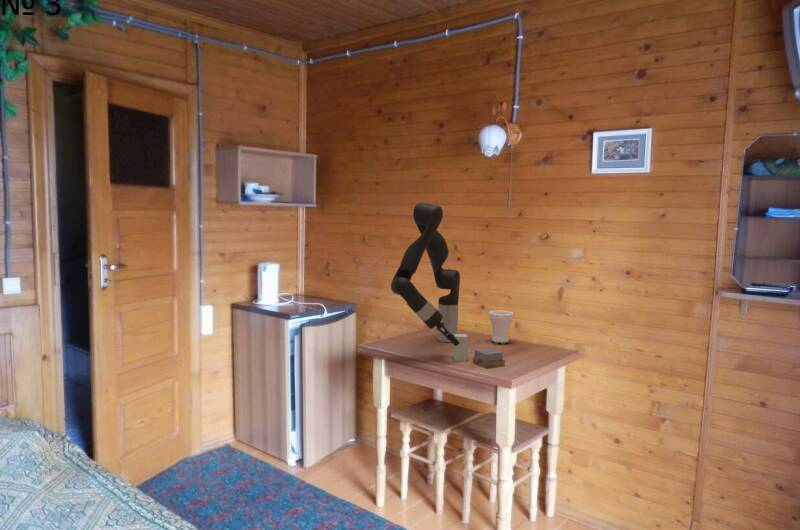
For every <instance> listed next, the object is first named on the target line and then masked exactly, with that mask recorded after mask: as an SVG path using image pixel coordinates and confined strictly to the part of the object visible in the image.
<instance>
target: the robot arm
mask: <svg viewBox="0 0 800 530" xmlns="http://www.w3.org/2000/svg"><path fill="white" fill-rule="evenodd" d="M443 215H444V211H443V208H442V207H441V206H439V205H437V204H433V203H428V202H422V201H421V202H417V204H415V205H414V208H413V221H414V223H415V225H416V227H417V230H418V231H419V233H420V236H419V237H418V238H417V239H415V240H414V241H413V242H411V244H410V245H409V246H408V247H407V249H406V250H405V252H404V254H403V256H402V259H401V262H400V264H399V267H398V269H397V270H396V273H395V274H394V276H393V278H392V280H391V283H390V288H391V291H392V292H393V294H395V295H398V296H400V297H401V298H402V299H403V300H404V301H405V302H406V305H407V306H408V307H409V308H410V309H411V310H412V312H413V313H414V314H415V315H417V317H418V318H419V319H420V321H422V322H423V324H425V325H426V326H427V328H428V329H431V330H432V329H434V328H435V327H436V328H435V329H436V339H437V341H439V342H443V343H452V345H453V344H454V345H455V346H457V345H458V344H459V341H458V340H457V339H456V338H455V337H454V334H458V332H459V331H458V328H459V322H458V321H459V299H460V283H461V275H460V271H459V270H456V269H445V268H443V265H444V264H445V262H446V260H447V259H448V257H449V247H448V244H447V241H446V239H445V237H444V236H443V235H442V234H441V232H439V231H438V228H439V226H440V224H441V222H442V220H443V217H444V216H443ZM425 251H426V253H427V255H428V258H429V262H430V264H431V268H432V271H433V277H434V282H435V285H436V287H437V288H438V289H441V290H450V292H449V293H448V294H446V295H442V296H440V297H438V299H437V301H438V304H437V305H438V307H437V308H438V309H437V308H436V307H435V306H434V304H432V303H431V302H429V301H428V299H427V298H426V297H424V295H423V294H422V293H420V292H419V290H418V289H417V288H416V286H415V285H414V283H413V282H412V281H411V280H412V277H413V275H414V274H415V273H416V272H417V270H418V267H419V264H420V262H421V259H422V257H423V256H424V253H425Z"/></svg>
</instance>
